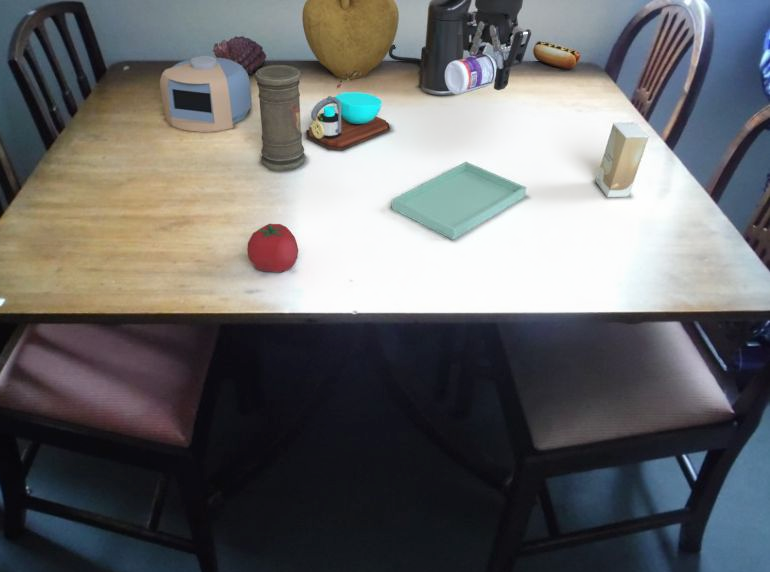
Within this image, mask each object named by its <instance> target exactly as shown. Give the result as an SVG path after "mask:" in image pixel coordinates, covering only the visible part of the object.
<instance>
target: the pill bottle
mask: <svg viewBox="0 0 770 572" xmlns="http://www.w3.org/2000/svg"><path fill="white" fill-rule="evenodd" d="M497 68H498V65H497V57H496V55H495V54H492V55H490V54H488V53H484V54H479V55H475V56H467V57H463V59H459V60H455V61H452V62H450V63H449V64H448V66H447V67H446V70H445V82H446V85H447V87H448V89H449V90H450V91H451V92H452V93H454V94H453V95H462V94H465V93H468V92H472V91H475V90H479V89H483V88H487V87H489V86H490V85H492V84H494V83H495V76H496V69H497Z"/></svg>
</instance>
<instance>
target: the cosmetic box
mask: <svg viewBox="0 0 770 572" xmlns="http://www.w3.org/2000/svg"><path fill="white" fill-rule="evenodd" d="M649 138H650V137H649V136H648V134H647V133H646V132H645V131H644V130H643V129H642V127H640V126H639V125H638V124H637V122H635V121H630V122H629V121H627V122H626V121H625V122H613V123H612V126H611V129H610V133H609V136H608V140H607V143H606V146H605V150H604V153H603V157H602V159H601V163H600V166H599V169H598V173H597V176H596V179H595V182H596V184H597V186H599V188H600V189H601V191H602V193H603V194H605V197H607V198H623V197H626V198H627V197H630V193H631V190H632V187H633V185H634V182H635V178H636V176H637V173H638V171H639V168H640V164H641V161H642V158H643V155H644V152H645V149H646V146H647V144H648V141H649Z"/></svg>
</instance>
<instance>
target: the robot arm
mask: <svg viewBox="0 0 770 572" xmlns="http://www.w3.org/2000/svg"><path fill="white" fill-rule="evenodd" d="M472 1H473V0H430V1H429V3H428V6H427V20H426V32H425V43H424V44H425V46H423V47H421V54H420V58H418V57H407V56H397V55H395V54H393V51H394V50H396V49H397V46H396V47H395V45H396V44H395V43H393V44H392V46H391V48H390V50H389V52H388V56H389V57H390V58H391V59H392V60H395V61H399V62H412V63H419V65H420V66H419V67H420V68H419V80H418V87H419V88H421V90H422V91H423V92H425V93H427V94H429V95H434V96H452V95H455V94H454V93H452V92H451V91H450V90H449V89H448V87H447V85H446V82H445V70H446V67H447V66H448V64H449V63H450V62H452V61H455V60H459V59H463V58H464V52H466V51H467V52H468V53H469V57H471V56H475V55H479V54H485V52H486V50H487V47H488V46H489V45H491V46H492V50H493V55H496V57H497V65H498V68H497V69H496V76H495V80H494V82H493V89H494V90H495V91H502V90H505V88H506V87H508V84H509V79H510V74H511V73H510V71H511V68H514V67H517V66H518V67H519V66H521V65H522V63H523V60H524V57H525V55H526V52H527V48H528V45H529V42H530V39H531V37H532V31H531V29H529V28H528V29H523V28H521V27H520V26H519V20H518V15H519V13H520V11H521V10H522V8H523V3H524V0H474V7H475V8H476V10H474V11H470V7H471V5H472ZM394 44H395V45H394ZM504 45H505V46H504ZM502 46H503V47H502Z"/></svg>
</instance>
